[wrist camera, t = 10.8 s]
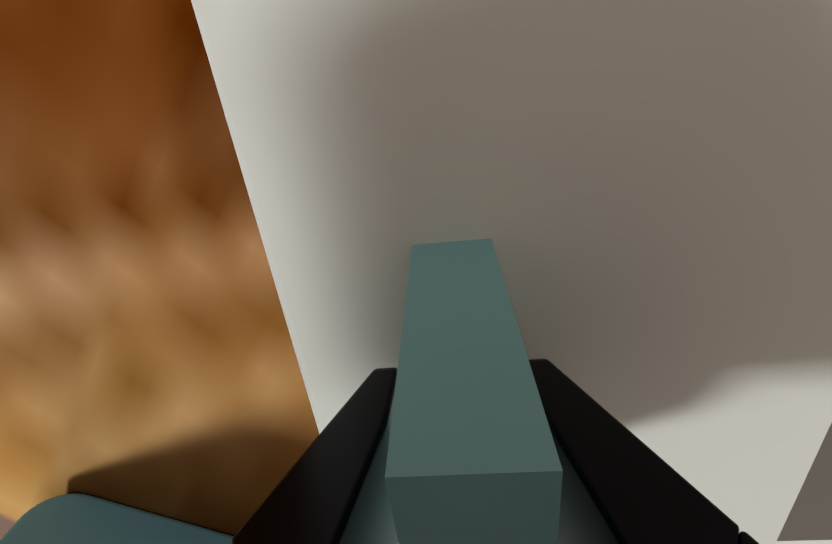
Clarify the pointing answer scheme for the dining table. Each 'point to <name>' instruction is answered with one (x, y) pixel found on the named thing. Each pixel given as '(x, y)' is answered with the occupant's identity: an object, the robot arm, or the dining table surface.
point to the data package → (103, 525)
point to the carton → (813, 503)
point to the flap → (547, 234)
